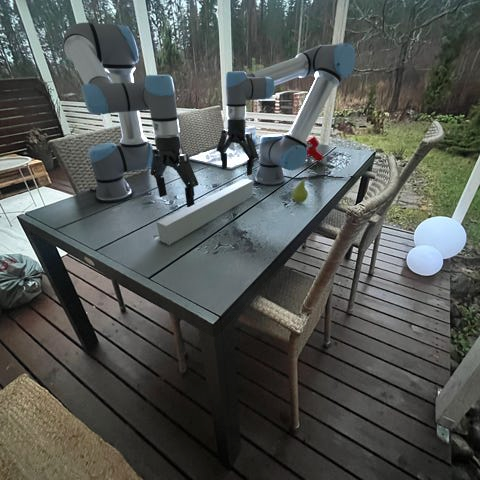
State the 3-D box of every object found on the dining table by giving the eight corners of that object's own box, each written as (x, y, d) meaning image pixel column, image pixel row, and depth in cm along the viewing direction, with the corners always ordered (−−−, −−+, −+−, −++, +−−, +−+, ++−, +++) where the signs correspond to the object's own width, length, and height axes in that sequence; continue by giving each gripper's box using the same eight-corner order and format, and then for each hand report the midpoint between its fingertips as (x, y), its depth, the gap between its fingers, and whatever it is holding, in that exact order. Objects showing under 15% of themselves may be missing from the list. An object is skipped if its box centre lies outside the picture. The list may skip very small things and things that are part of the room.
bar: (244, 193, 130) (244, 178, 126) (252, 195, 128) (253, 180, 124) (160, 240, 95) (156, 221, 91) (169, 245, 93) (165, 226, 89)
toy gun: (327, 156, 170) (314, 135, 166) (326, 157, 167) (314, 136, 163) (301, 171, 180) (289, 151, 176) (301, 173, 177) (288, 153, 173)
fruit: (288, 200, 123) (290, 174, 116) (302, 197, 125) (305, 172, 119) (296, 206, 118) (299, 179, 111) (310, 203, 120) (314, 177, 114)
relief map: (230, 169, 160) (230, 160, 157) (189, 159, 178) (188, 151, 175) (256, 158, 178) (256, 150, 176) (216, 150, 196) (216, 143, 193)
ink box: (251, 141, 219) (251, 125, 213) (255, 142, 216) (255, 126, 210) (243, 143, 214) (243, 127, 208) (248, 144, 211) (248, 128, 205)
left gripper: (130, 132, 85) (144, 195, 96) (187, 143, 72) (195, 214, 84) (150, 128, 90) (161, 189, 101) (206, 138, 77) (211, 205, 89)
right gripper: (206, 116, 109) (209, 168, 121) (257, 122, 96) (255, 180, 108) (218, 114, 114) (220, 164, 126) (268, 119, 101) (265, 174, 113)
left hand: (176, 200), depth 92 cm, fingers open, 13 cm apart
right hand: (236, 171), depth 117 cm, fingers open, 13 cm apart
